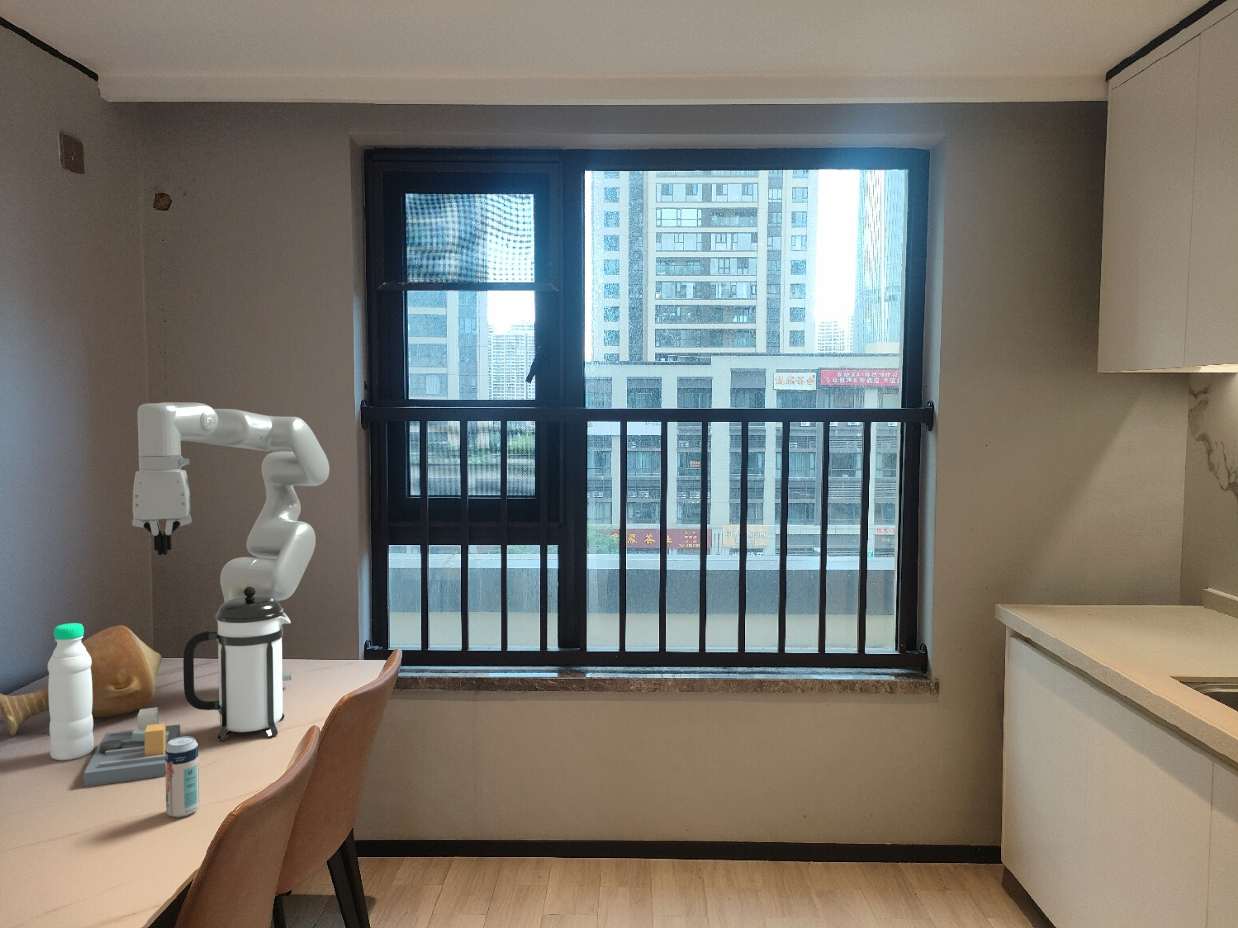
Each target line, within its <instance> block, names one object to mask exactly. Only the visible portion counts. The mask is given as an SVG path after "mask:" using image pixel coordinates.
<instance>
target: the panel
mask: <svg viewBox="0 0 1238 928" xmlns="http://www.w3.org/2000/svg"><path fill="white" fill-rule="evenodd" d="M133 731H134V729H128V730H127V729H126V730H119V731H118V730H117V731H110V732H109V731H108V732H105V734H104V736H103V738H101V741H100V743H99V744H98V747H97V748H96V750H95V752H94V754H93V756H92V758H91V759H90V761H89V763H88V765H87V766H86V769H85V771H84V773H83V786H84V787H91V786H92V787H93V786H99V785H106V784H115V783H123V782H129V781H130V782H131V781H136V780H137V781H138V780H146V779H153V778H161V777H166V772H165V754H164V755H156V756H148V757H145V741H131V737H132V733H133ZM166 731H169V735H168V740H167V742H166V746H167V744H168V742H169V741H170V740H172V739H175V738H178V737H181V724H171V725H166Z"/></svg>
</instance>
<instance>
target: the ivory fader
mask: <svg viewBox="0 0 1238 928" xmlns="http://www.w3.org/2000/svg"><path fill="white" fill-rule="evenodd" d="M154 724H159V707H157V706H156V707H149V708H141V709H139V712H138V714H137V729H141V730H146V727H147V725H154Z"/></svg>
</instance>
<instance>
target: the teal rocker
mask: <svg viewBox="0 0 1238 928" xmlns="http://www.w3.org/2000/svg"><path fill="white" fill-rule="evenodd" d="M133 730H134V731H133V733H132V737H131V741H145V730H141V729H138V728H134V729H133ZM168 735H169V731H166V742H167V740H168Z"/></svg>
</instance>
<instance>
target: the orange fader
mask: <svg viewBox="0 0 1238 928" xmlns="http://www.w3.org/2000/svg"><path fill="white" fill-rule="evenodd" d="M166 726H167V724H166V723H164V722H162V723H158V724H154V725H147V727H146V730H145V757H148V756H156V755H164V754H165V748H166Z"/></svg>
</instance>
